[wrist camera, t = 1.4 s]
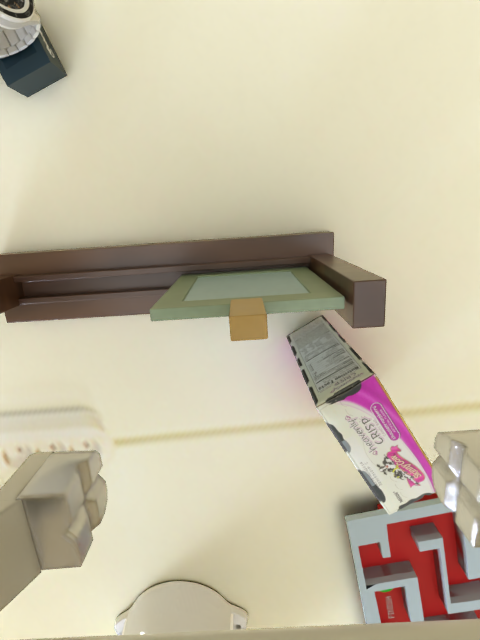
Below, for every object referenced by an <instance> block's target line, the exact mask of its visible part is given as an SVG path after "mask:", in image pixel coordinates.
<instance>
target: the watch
mask: <svg viewBox="0 0 480 640" xmlns="http://www.w3.org/2000/svg"><path fill="white" fill-rule="evenodd" d="M34 6H35V5H34V0H0V73H1V75H2V77H3V79H4V81H5V82H6V84H7V86H8V87H10V88H12V89H14V90H16V91H17V92H19V93H21V94H23V95H25V96H26V97H29V96H31V95H32V94H34V93H36V92H38V91H40V90H41V89H43V88H45V87H47V86H49V85H50V84H52V83H54V82H56V81H58V80H59V79H61V78H63V77H65V76H67V74H66V72H65V70H64V68H63V66H62V64H61V62H60V60H59V58H58V56H57V54H56V52H55V50H54V48H53V47H52V45H51V43H50V41H49V39H48V37H47V35H46V33H45V31H44V29H43V27H42V25H41V23H40V17H39V15H38V13H37V11H36V9H35V7H34Z"/></svg>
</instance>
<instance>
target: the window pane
mask: <svg viewBox="0 0 480 640" xmlns="http://www.w3.org/2000/svg"><path fill="white" fill-rule="evenodd" d="M344 301H345V297H344V296H343V295H341V294H340V293H339V292H338V291H336V290H335V289H334V288H332V287H331V286H330V285H329V284H327V283H326V282H325V281H324V280H322V279H321V278H320V277H319V276H317V275H316V274H315V273H314V272H312V271H311V270H310V269H309V268H307V267H306V266H302V267H287V268H272V269H257V270H242V271H227V272H212V273H197V274H182V275H181V276H180V278H179V279H178V280H177V281H176V282H175V283H174V284H173V285H172V286H171V287H170V288H169V289H168V291H167V292H166V293H165V294H164V295H163V296H162V297H161V298H160V299H159V300H158V301H157V302H156V303H155V304H154V305H153V307H152V308H151V309H150V316H151V321H163V320H178V319H194V318H209V317H225V316H229V324H230V336H231V341H240V340H256V339H267V338H268V331H267V314H271V313H287V312H302V311H318V310H333V309H344Z"/></svg>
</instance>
